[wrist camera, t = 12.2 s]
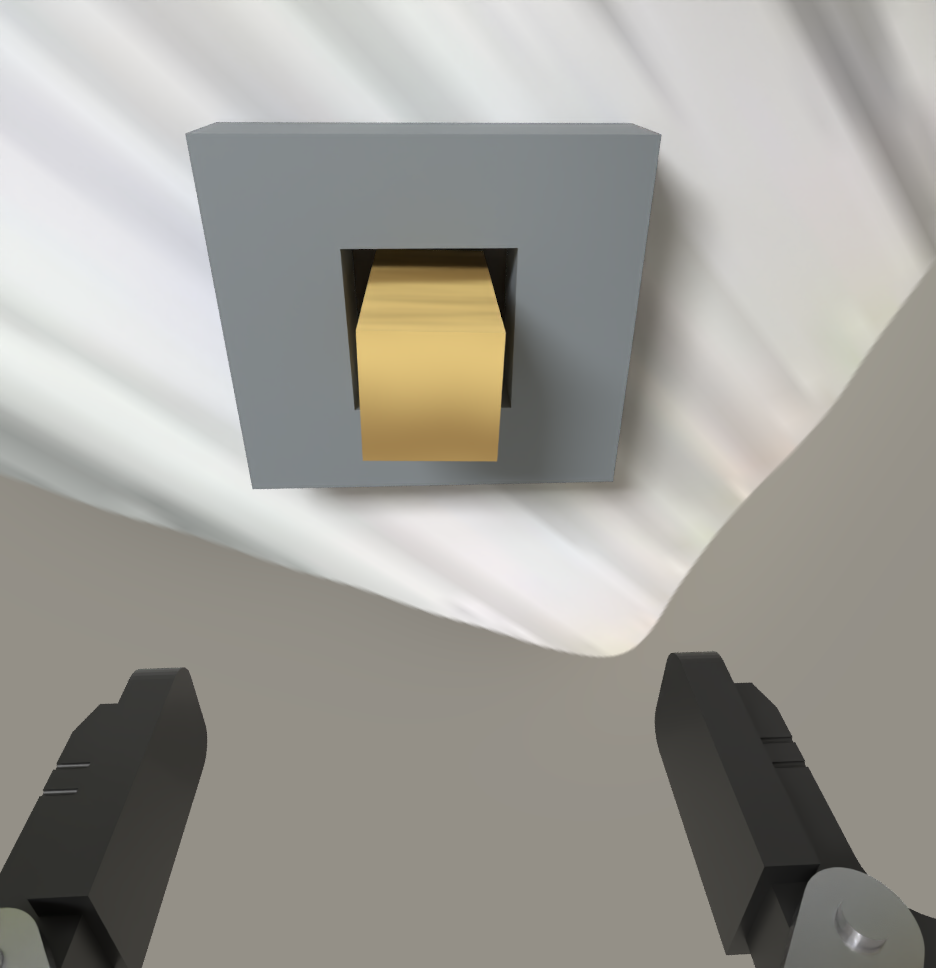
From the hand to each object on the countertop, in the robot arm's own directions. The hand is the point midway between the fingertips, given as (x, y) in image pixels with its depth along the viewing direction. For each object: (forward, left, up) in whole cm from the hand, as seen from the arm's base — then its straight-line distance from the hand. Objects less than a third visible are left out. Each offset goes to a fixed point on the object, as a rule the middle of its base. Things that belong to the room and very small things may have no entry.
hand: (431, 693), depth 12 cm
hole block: (0, 0, -22) cm, 22 cm away
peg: (0, 0, -22) cm, 22 cm away
